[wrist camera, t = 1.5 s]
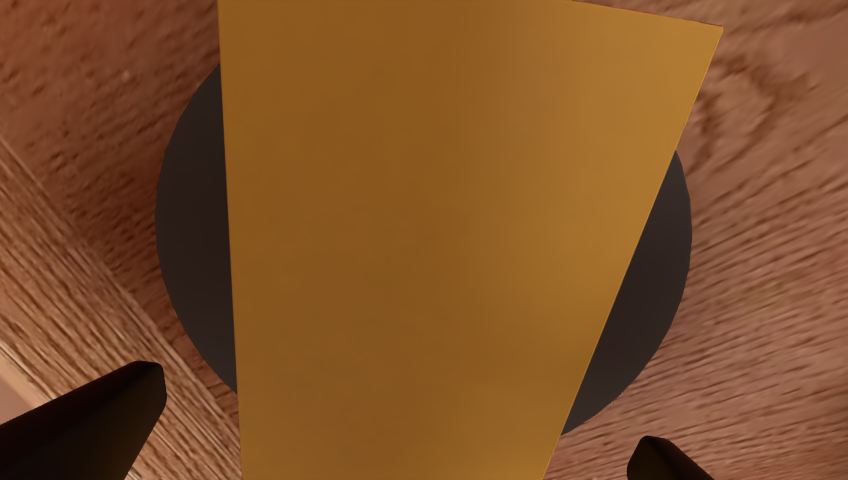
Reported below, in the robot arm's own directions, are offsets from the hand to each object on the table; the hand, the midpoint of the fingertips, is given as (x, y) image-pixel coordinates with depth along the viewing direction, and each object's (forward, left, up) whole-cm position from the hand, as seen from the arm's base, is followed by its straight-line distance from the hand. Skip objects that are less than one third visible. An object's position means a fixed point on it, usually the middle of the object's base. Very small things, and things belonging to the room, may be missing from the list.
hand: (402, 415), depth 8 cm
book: (0, 0, -4) cm, 4 cm away
